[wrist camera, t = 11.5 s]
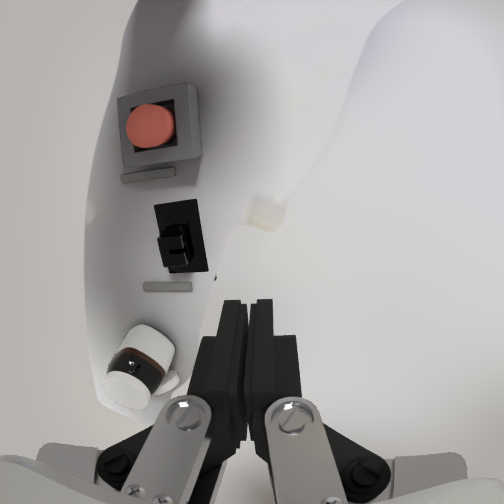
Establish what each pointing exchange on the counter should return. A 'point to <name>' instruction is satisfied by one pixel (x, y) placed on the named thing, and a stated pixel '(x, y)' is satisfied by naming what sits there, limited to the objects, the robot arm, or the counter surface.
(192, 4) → the counter surface
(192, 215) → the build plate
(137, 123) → the plunger
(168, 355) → the spread jar
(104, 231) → the counter surface
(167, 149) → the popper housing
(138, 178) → the strip
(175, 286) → the strip
